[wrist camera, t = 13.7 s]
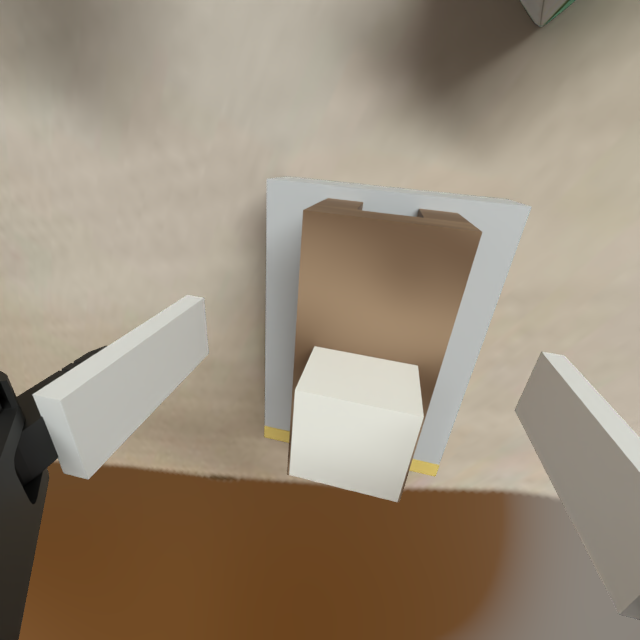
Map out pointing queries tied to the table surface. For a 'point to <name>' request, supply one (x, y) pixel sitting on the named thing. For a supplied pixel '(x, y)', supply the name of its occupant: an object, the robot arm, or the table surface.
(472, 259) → the notched wooden block
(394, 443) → the small white block
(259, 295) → the table surface
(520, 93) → the table surface
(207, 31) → the table surface
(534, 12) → the box
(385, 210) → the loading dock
